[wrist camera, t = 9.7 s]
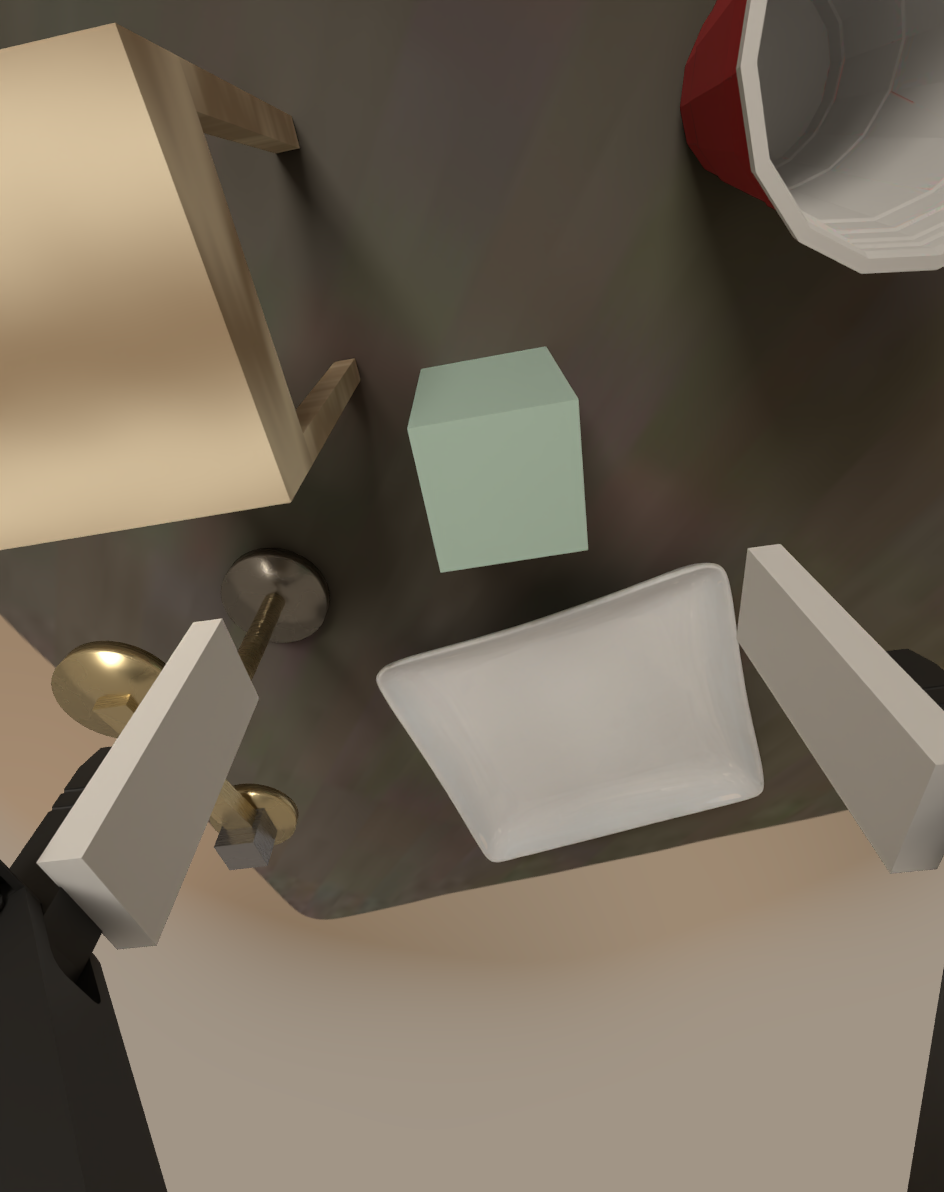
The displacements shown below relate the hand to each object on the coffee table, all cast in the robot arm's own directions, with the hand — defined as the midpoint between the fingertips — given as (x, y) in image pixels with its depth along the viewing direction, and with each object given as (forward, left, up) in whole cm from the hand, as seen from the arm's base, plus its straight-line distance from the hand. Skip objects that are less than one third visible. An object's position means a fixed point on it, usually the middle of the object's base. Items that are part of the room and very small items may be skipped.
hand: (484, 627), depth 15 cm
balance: (+8, -13, -17) cm, 23 cm away
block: (0, +1, -17) cm, 17 cm away
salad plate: (+21, +4, -18) cm, 28 cm away
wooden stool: (-8, -10, -17) cm, 22 cm away
